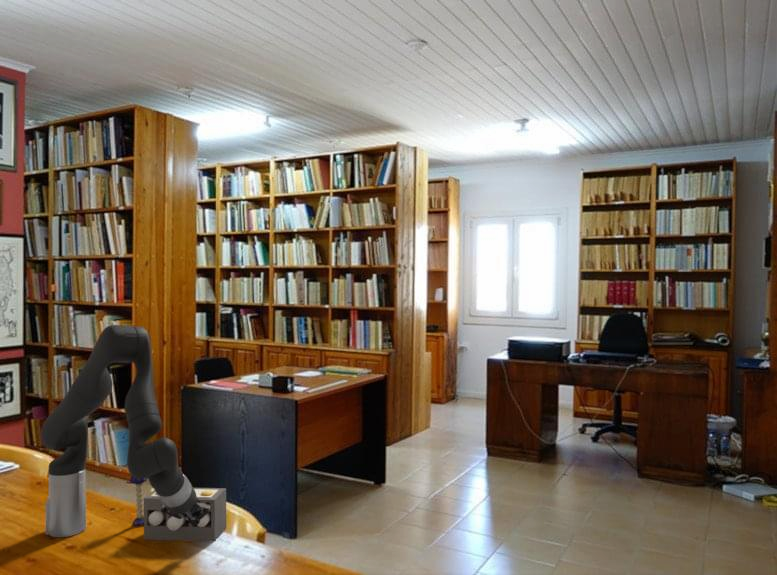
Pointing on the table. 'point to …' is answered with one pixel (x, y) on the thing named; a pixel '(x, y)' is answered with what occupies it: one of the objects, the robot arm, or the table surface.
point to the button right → (205, 520)
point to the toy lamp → (138, 500)
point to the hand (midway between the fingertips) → (195, 521)
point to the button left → (157, 517)
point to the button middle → (175, 523)
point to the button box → (186, 530)
